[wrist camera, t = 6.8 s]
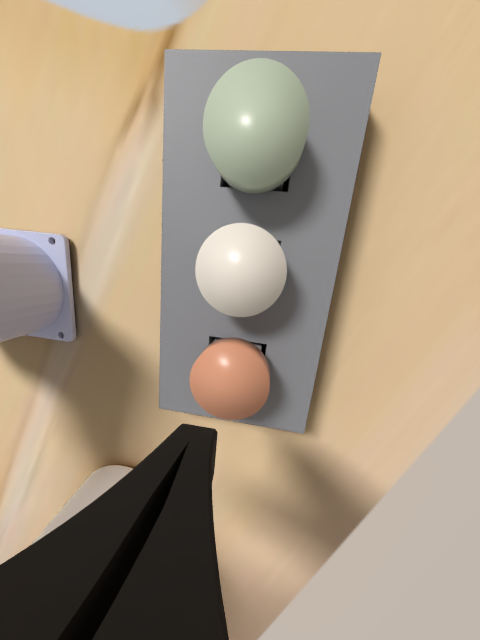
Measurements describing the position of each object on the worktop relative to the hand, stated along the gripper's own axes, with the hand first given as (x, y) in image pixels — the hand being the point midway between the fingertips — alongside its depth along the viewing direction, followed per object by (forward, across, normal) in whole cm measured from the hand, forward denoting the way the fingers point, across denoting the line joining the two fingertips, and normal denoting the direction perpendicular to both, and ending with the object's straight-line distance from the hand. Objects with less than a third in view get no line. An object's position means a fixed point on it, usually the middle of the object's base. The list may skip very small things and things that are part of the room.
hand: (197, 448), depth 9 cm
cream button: (+8, 0, -6) cm, 11 cm away
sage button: (+9, 0, -12) cm, 15 cm away
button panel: (+9, 0, -6) cm, 11 cm away
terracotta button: (+8, 0, 0) cm, 9 cm away
